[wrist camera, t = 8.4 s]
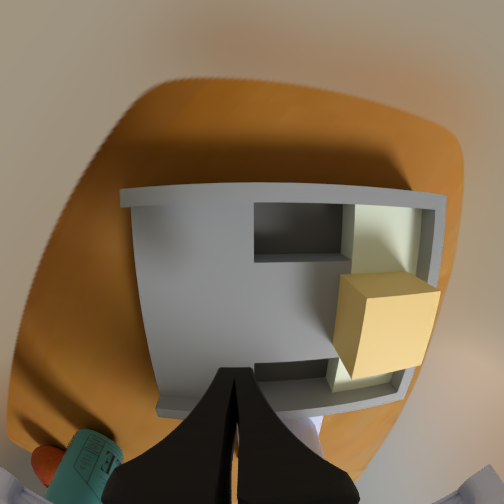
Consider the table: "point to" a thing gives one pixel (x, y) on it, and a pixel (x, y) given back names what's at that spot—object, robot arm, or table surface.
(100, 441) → the beverage bottle
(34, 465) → the fruit
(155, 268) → the box
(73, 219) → the table surface
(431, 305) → the block
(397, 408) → the table surface
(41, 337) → the table surface
